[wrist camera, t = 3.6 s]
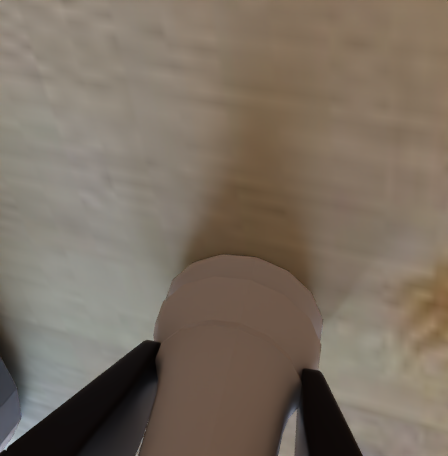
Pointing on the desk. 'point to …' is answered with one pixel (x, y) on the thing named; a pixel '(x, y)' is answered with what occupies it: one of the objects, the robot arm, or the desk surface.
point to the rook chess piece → (230, 358)
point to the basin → (8, 406)
